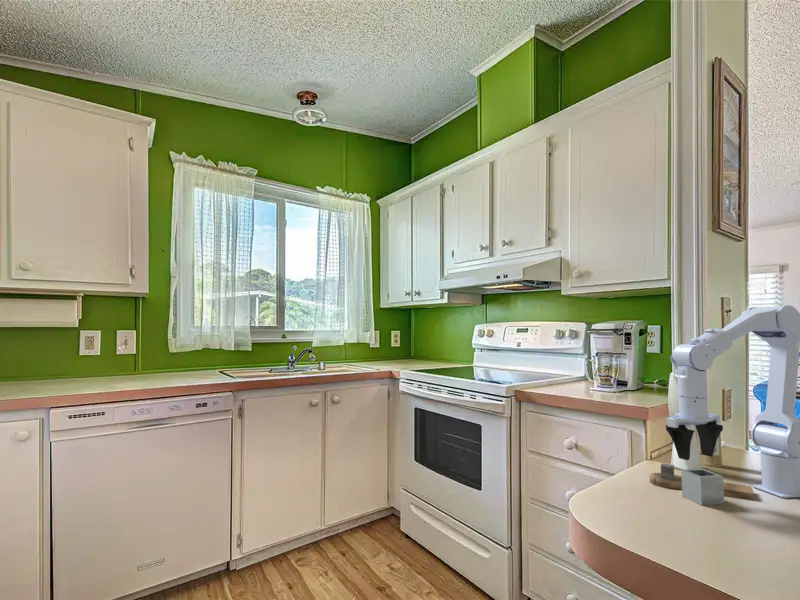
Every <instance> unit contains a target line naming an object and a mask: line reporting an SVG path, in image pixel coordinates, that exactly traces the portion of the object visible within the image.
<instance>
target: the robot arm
mask: <svg viewBox="0 0 800 600" xmlns="http://www.w3.org/2000/svg"><path fill="white" fill-rule="evenodd" d="M750 333H752V334H754V335H755V336H756V337H758V338H759V339H761V340H763V341H764V342H766V343H767V344H768V345H769V346H770V355H769V357H770V358H769V369H768V379H767V380H768V381H767V388H766V389H767V390H766V400H765V401H766V402H765V410H764V411H762V412H760V413H758V414H757V415H756V416H755V417H754V418H755V419H754V423H753V425H752V427H751V430H750V438H751V441H752V443H753V444H754V446H755V447H757V448H756V449H757V450H758V452H759V451H760V468H761V469H760V470H761V483H759V484H753V485H752V487H753V488H755V489H758V490H761V491H763V492H766V493H769V494H771V495H775V496H777V497H780V498H783V499H787V498H789V499H790V498H800V418H799V417H797V415H795V412H796V411H795V410H796V401H797V400H796V399H797V387H798V373H799V363H800V362H799V361H800V312H799V310H798V308H796V307H795V306H793V305H790V304H789V305H781V306H761V307H757V306H755V307H754V306H752V307H749V308H747V309H746V310H743V311H741V315H740V316H738V317H737V318H735V319H734V320H733V321H732V322H730V323H729V324H727V325H725V326H724V327H723V328H721V329H720V328H707V329H705V330H704V333H703V334H701V335H700V336H698V337H696V338H691V339H690V342H688V343H687V344H686V343H685V344H683V343H682V344H678V345H677V346H676V347H674V349H673V350H672V353H671V355H670V356H669V358H670V362H671V364H672V365H673V366H674V371H675V373H674V374H675V375H678V397H679V413H677V414H676V416H673V417H670V416H669V417H666V420H667V421H666V422H667V424H666V425H665V431H667V433H668V434H669V436H670V437H671V440H672V443H673V442H674V445H675V448H676V451H677V454H678V457H679V458H681V459H684V460H689V458H690V444H691V439H692V436H693V433H694V430H689V429H687V428H686V426H690V425H695V427H696V429H697V430H696V433H697V435H698V438H699V447H700V451H701V452H700V453H701V455H703V456H704V455H706V456H710V457H712V456H713V453H714V449H715V445H716V441H717V439H718V437H719V435H720V434H721V433H722V431H723V430H724V426H723V425H722V424H721V425H718V424H716V423H720V421H721V417H720V416H721V414H717V413H709V395H708V375H707V371H708V369H710V368H711V367H712V365H713V364H714V363H713V362H714V360H716V358H718V357H719V356H721V355H723V354H724V353H726V352H728V351H730V350H731V349H732V347H733V342H734V341H736V340H738V339H740V338H742V337H744V336H746V335H748V334H750ZM778 424H780V425H778ZM782 425H783V426H782Z"/></svg>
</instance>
